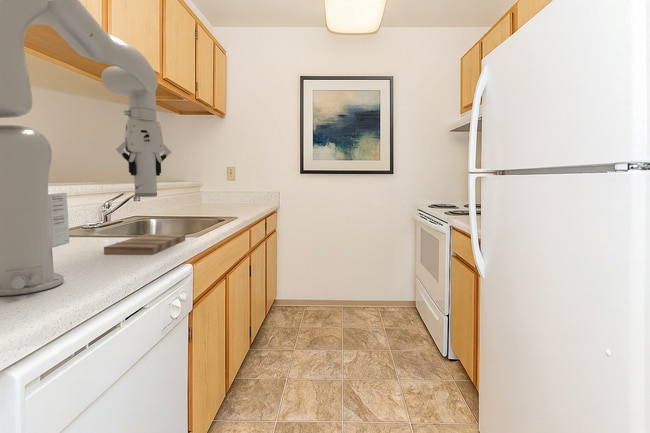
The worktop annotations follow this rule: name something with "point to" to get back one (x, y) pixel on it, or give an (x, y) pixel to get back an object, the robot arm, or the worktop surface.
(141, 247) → the walnut board
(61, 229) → the supplement box
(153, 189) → the travel mug
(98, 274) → the worktop surface
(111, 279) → the worktop surface
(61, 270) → the worktop surface
